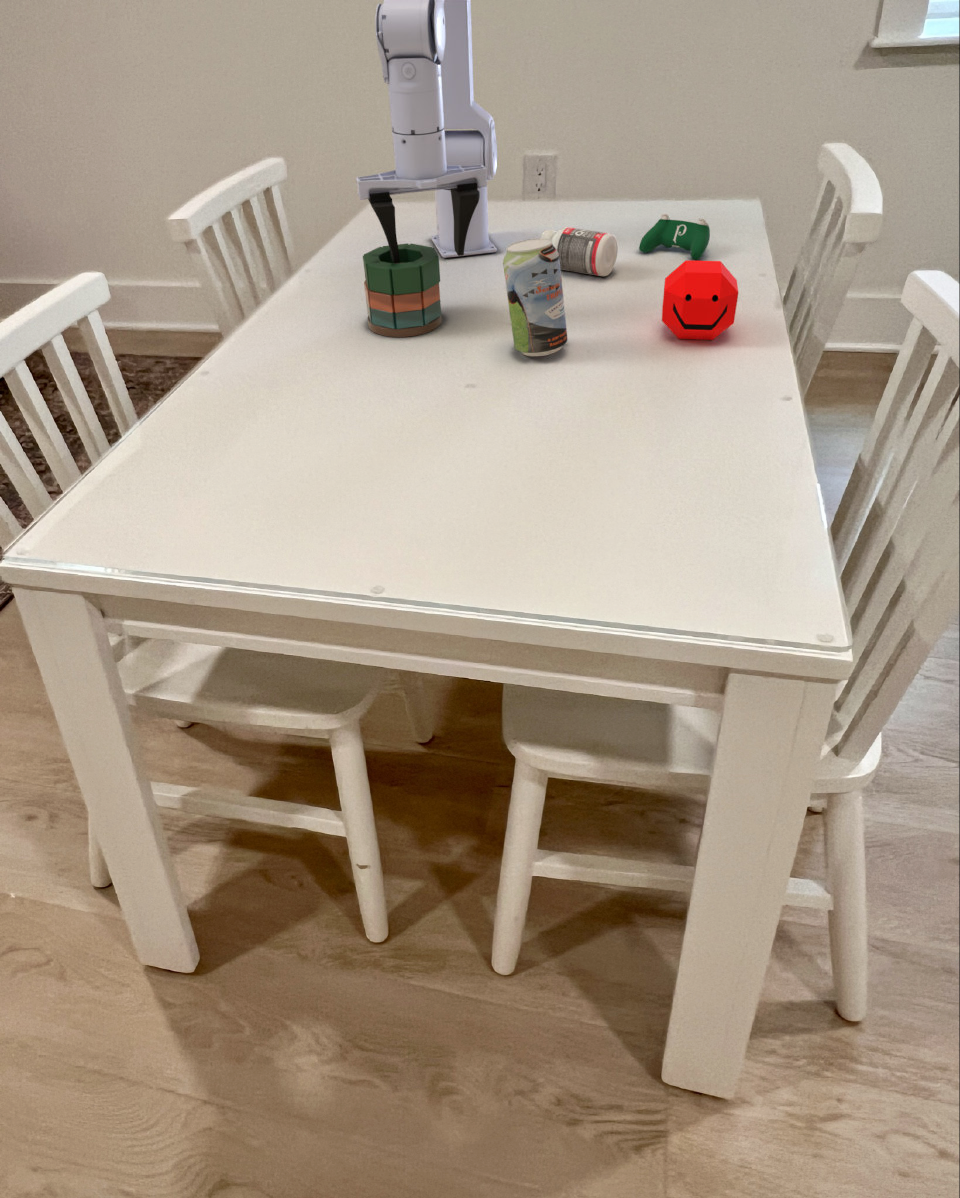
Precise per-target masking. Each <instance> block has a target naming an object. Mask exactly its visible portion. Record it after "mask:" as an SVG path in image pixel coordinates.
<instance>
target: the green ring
mask: <svg viewBox="0 0 960 1198" xmlns="http://www.w3.org/2000/svg"><path fill="white" fill-rule="evenodd" d="M398 249H399V256H400V262H404V263H398V264H394V262H393V260H392V258H391V253H390V248H389V245H388V244H387V245H382V246H379V247H376V248H375V249H372V250H371V251H368V252H366V253H364V254H363V255H362V261H363V271H364V279H365V280H366V283H367V286H368V289H369V290H370V291H374V292H379V293H384V294H388V295H393V294H394V295H401V294H410V293H418V292H421V291H426V290H427V289H429V288H431V287H433V286H435V285H436V284H438V283H439V284H440V282H441V272H440V271H441V270H440V259H439V258H440V257H439V256H440V255H438V253H437V251H436V249H435V247H432V246H427V245H421V244H417V243H408V242H407V243H400V244H399V243H398ZM365 280H364V281H365Z"/></svg>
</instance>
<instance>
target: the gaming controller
mask: <svg viewBox="0 0 960 1198" xmlns="http://www.w3.org/2000/svg"><path fill="white" fill-rule="evenodd" d="M710 236H711V229H710V225H709V224H708V223H707V221H706V219H705V218H699V219H698V222H693V221H685V220H679V219H671V218H670V216H669V215H668V214H667V213H662V214H661V216H660V218H659V219H658V221H657V222H655V224H654V225H653V226H652V227H651V228H650V229H648V231H647V232H646V233H645V234H644V235H643V237H642V238H641V241H640V243H639V245H638V246H639V247H638V250H639V251H640V252H641V253H643V254H645V253H650V252H651V251H653V250H655V249H657V248H658V247H660V246H663V247H664V248H666V249H672V248H676V249H677V248H678V249H682V250H684V251H687V252H690V258H691V260H692V261H699V260H700V259H701V258H702V257H703V255H704V254H705V253H706V250H707V247H708V246H709V242H710Z"/></svg>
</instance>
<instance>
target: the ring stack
mask: <svg viewBox="0 0 960 1198" xmlns="http://www.w3.org/2000/svg"><path fill="white" fill-rule="evenodd" d="M400 263H404V262H400ZM394 264H398V263H394ZM363 285H364V295H365V303H366V311H367V326H368V328H369V330H370V331H372V332H373V333H375V334H377V335H381V336H383V337H391V338H408V337H416V336H421V335H425V334H428V333H429V332H432V331H434V330H436V329H437V328H439V326H440V325H441V324H442V308H441V307H442V305H441V304H442V303H441V291H440V282H439V283H438V284H436V285H435V286H433V287H431V288H429V289H427V290H426V291H421V292H418V293H410V294H401V295H394V294H393V295H388V294H384V293H379V292H374V291H370V290H369V289H368V286H367V283H366V280H364V281H363Z"/></svg>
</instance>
